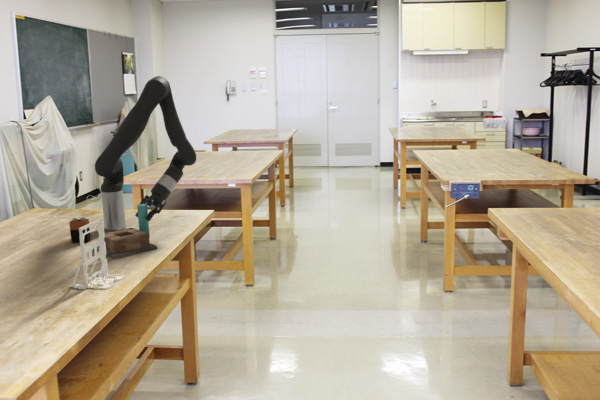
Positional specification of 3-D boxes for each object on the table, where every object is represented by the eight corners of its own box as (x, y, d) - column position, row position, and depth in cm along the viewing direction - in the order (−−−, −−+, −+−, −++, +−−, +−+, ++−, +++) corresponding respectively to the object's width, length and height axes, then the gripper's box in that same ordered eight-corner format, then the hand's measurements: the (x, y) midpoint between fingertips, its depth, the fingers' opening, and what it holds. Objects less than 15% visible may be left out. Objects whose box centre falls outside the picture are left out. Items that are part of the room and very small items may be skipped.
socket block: (93, 249, 231) (91, 234, 229) (135, 240, 243) (133, 225, 241) (114, 259, 218) (112, 243, 216) (157, 248, 230) (156, 233, 228)
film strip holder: (107, 290, 185) (101, 229, 181) (67, 288, 188) (60, 228, 184) (128, 275, 199) (123, 218, 195) (91, 274, 202) (85, 217, 197)
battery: (87, 242, 241) (85, 219, 239) (71, 243, 241) (68, 219, 239) (91, 239, 246) (88, 216, 243) (75, 240, 246) (72, 217, 244)
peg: (138, 237, 247) (135, 205, 244) (146, 235, 249) (144, 203, 247) (142, 239, 244) (140, 206, 241) (151, 237, 247) (148, 205, 244)
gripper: (149, 180, 253) (127, 211, 247) (166, 184, 242) (144, 215, 237) (161, 190, 257) (140, 220, 252) (178, 194, 247) (156, 226, 242)
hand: (142, 218), depth 245 cm, fingers open, 8 cm apart
